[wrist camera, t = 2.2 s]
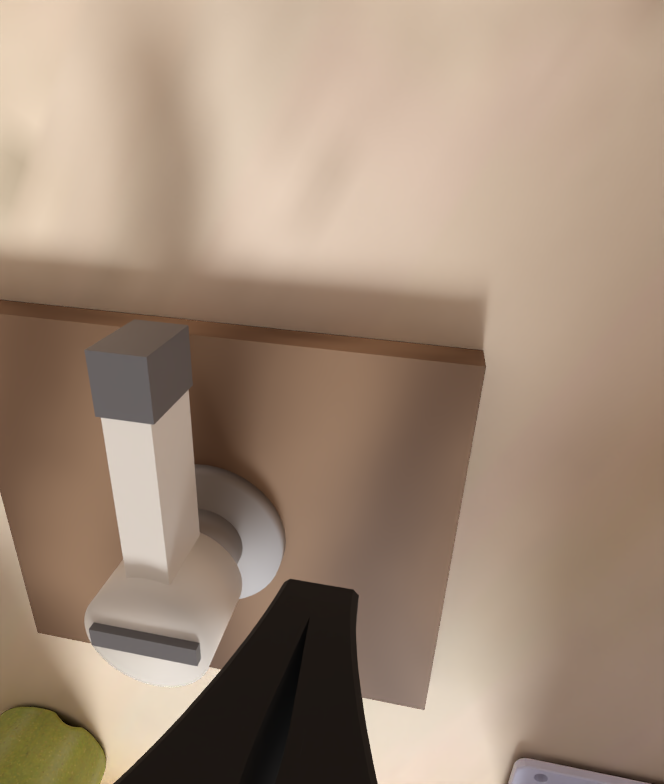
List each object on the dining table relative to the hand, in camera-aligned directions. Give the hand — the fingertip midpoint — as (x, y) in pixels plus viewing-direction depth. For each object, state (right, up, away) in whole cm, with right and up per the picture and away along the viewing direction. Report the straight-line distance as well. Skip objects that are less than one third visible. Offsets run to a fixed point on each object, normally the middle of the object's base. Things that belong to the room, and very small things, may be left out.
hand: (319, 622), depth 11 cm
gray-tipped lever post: (-4, +2, +5) cm, 7 cm away
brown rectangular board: (-4, 0, +9) cm, 10 cm away
